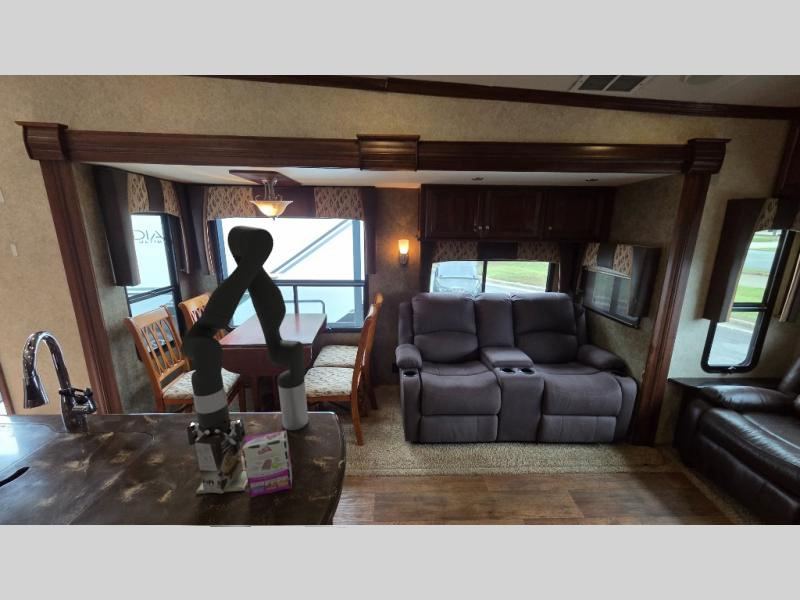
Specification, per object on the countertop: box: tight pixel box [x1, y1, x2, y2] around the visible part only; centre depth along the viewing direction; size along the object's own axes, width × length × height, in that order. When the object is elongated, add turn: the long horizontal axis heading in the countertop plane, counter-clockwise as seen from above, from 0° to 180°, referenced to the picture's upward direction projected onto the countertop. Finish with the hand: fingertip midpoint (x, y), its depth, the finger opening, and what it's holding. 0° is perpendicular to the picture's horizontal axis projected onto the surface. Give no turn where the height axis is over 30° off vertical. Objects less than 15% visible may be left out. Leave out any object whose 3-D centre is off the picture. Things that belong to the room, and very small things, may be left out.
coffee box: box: [194, 426, 243, 494], centre depth 90 cm, size 9×6×16 cm
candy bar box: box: [242, 429, 293, 498], centre depth 89 cm, size 11×5×16 cm, turn 106°
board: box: [195, 455, 248, 495], centre depth 95 cm, size 13×13×1 cm
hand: (220, 453), depth 90 cm, fingers open, 8 cm apart
